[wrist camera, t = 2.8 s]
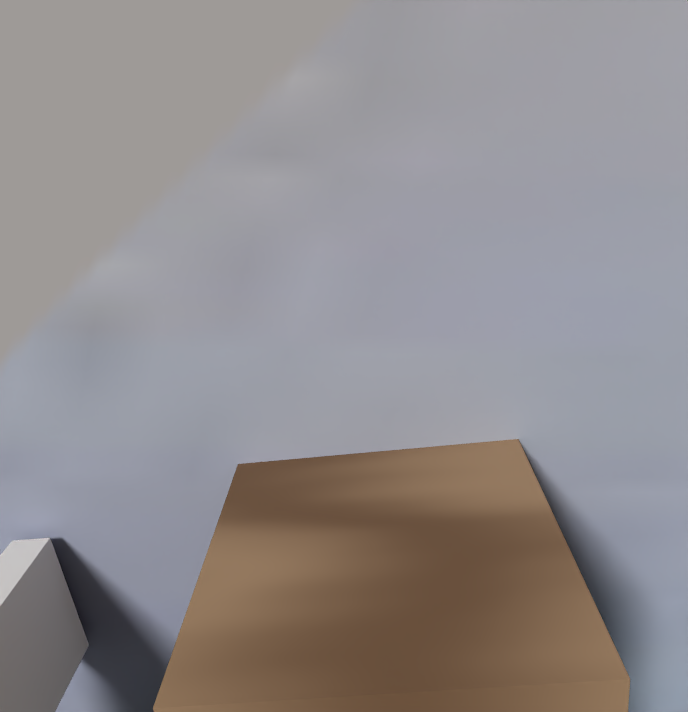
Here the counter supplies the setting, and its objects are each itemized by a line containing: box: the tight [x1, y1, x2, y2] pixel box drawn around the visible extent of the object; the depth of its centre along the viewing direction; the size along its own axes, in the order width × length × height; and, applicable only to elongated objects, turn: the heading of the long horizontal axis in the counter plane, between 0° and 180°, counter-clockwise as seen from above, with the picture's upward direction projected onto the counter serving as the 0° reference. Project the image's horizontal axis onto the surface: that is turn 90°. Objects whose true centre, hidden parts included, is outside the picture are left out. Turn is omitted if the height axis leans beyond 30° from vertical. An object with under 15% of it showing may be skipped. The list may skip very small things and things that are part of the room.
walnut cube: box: [153, 439, 630, 712], centre depth 10 cm, size 5×5×5 cm
